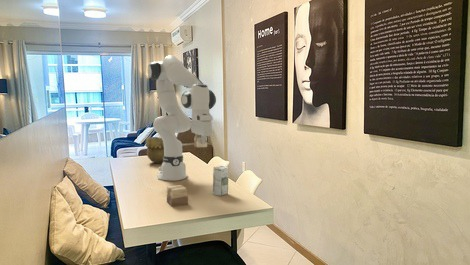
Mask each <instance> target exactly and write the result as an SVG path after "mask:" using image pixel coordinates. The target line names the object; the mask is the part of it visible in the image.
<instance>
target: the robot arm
mask: <svg viewBox="0 0 470 265" xmlns="http://www.w3.org/2000/svg"><path fill="white" fill-rule="evenodd" d="M147 74H148V77H149V79H150V80H153V81H154V80H155V81H156V82H155V86H156V94H157V99H158V105H159V108H160V109H161V110H162V111H164V112H165V113H166V114H167V115H161V116H158V117H156V118H155V119H154V120H153V122H152V127H153V130H154V131H155V132H156V133H157V134H158V135H159V136H160V138H162V140H163V144H164V156H163V163H161V165H160V166H159V167H158V172H157V174H156V175H157V179H158V180H159V181H162V180H163V181H181V180H184V179H186V178H189V175H188V174H187V169H186V164H185V163H184V162H183V161H184V155H183V143H182V141H181V140H179V138H177V137H176V134H177V133H178V134H180V133H185V132H187V131H189V130H190V131H191V133H192V134H195V136H201V138H202V139H201V144H205V140H206V137H211V136H212V128H213V127H212V126H213V125H212V124H213V122H212V121H213V119H214V118H213V115H212V114H211V113H210V110H211V109H212V108H213V107H214V106H216V103H217V97H216V95H215V93H214V91H212V90H211V89H209V87H208V86H209V85H207V84H205V83H204V82H202V81H201V79H200V78H198V76H197V75H195V74H194V73H192V72H191V71H189V69H187V68H186V67H185V66H184V63H183V62H182V61H181V60H180V59H178V58H177V57H176V56H175V55H173V54H172V55H171V54H170V55H167V56H165V57H164V59H163V60H160V61H153V62H150V63H149V64H148V66H147ZM174 85H176V86H182V87H188V88H189V89H188V90H186V91H184V92H183V93H182V94H181V98H180V101H181V102H180V103H181V105H182V106H183V107H184V108H185V109H188V110H191V118H190V116H188V115H187V114H186V113H185V112H184V111H183V110H182V109H181V107H180V104H179V102H178V99H177V98H178V97H177V94H176V90H175V86H174ZM195 136H194V137H195Z"/></svg>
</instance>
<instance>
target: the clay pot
mask: <svg viewBox="0 0 470 265" xmlns="http://www.w3.org/2000/svg"><path fill="white" fill-rule="evenodd" d="M145 140H146V142H145V147H147V148H146V156H147V158H148V159H149V161H151V162H153V163H155V164H162V163H163V156H164V144H163V140H162V138H161V137H157V136H155V137H154V136H151V137H146V139H145Z"/></svg>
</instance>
